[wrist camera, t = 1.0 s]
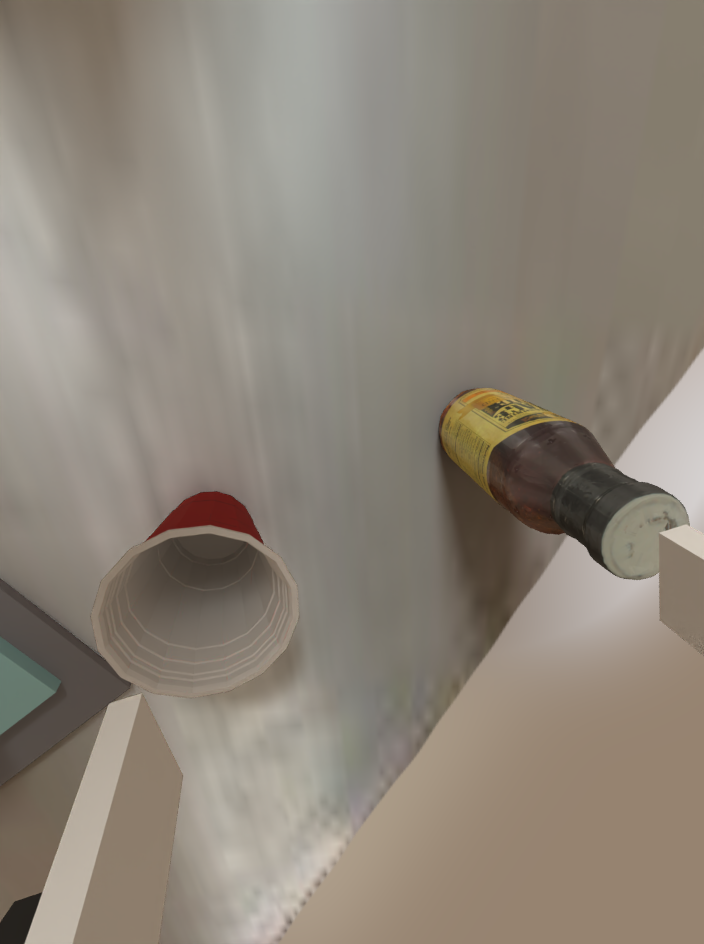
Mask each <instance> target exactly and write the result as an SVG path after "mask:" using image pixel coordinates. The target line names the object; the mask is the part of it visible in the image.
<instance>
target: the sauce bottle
mask: <svg viewBox="0 0 704 944" xmlns="http://www.w3.org/2000/svg"><path fill="white" fill-rule="evenodd" d="M439 434H440V439H441V444H442V447H443V449H444V450H445V451H446V452H447V454H448V456H449V457H450V458H451V459H452V460H453V461H454V462H455V463H456V464H457V465H458V466H459V467H460V468H461V469H462V470H463V471H465V472H466V473H467V474H468V475H469V476H470V477H471V478H472V479H473V480H474V481H475V482H476V483H477V484H478V485H479V486H480V487H481V488H483V489H484V490H485V491H486V492H487V493H488V494H489V495H490V496H491V497H492V498H493V499H494V500H495V501H496V502H497V503H498V504H499V505H501V506H502V507H503V508H505V509H506V510H508V511H510V512H511V513H512V514H513V515H514V516H515V517H516V518H517V519H518V520H520V521H521V522H522V523H524V524H525V525H527V526H528V527H530V528H533V529H535V530H538V531H540V532H543V533H547V534H558V535H559V534H562V533H566V534H567V535H569V536H571V537H573V538H575V539H577V540H578V541H579V542H580V543H581V544H583V545H584V546H585V547H586V548H587V550H588V552H589V554H590V556H591V557H592V558H593V559H594V560H595V561H596V562H597V563H599V564H600V565H601V566H602V567H604V568H605V569H606V570H608V571H609V572H611V573H612V574H614V575H615V576H618V577H620V578H624V579H633V580H641V579H646V578H649V577H652V576H654V575H656V574H657V573H659V533H660V532H663V531H666V530H670V529H673V528H676V527H679V526H682V525H686V524H687V525H688V526H690V523H689V518H688V514H687V512H686V509H685V507H684V506H683V504H682V503H681V502H680V501H679V500H678V499H677V498H675V497H674V496H673V495H671V494H669V493H668V492H666V491H664V490H663V489H661V488H659V487H657V486H655V485H652V484H649V483H645V482H638V481H636V480H635V479H632V478H630V477H628V476H626V475H624V474H623V473H622V472H621V471H619V470H618V469H616V468H615V467H614V465H613V464H612V462H611V461H610V460H609V458H608V457H607V455H606V454H605V452H604V451H603V449H602V448H601V446H600V445H599V443H598V442H597V440H596V439H595V437H594V436H593V434H592V433H591V432H590V431H589V430H588V429H586V428H585V427H583V426H582V425H580V424H577V423H575V422H573V421H571V420H569V419H566V418H564V417H561V416H559V415H556V414H554V413H552V412H550V411H548V410H546V409H543V408H541V407H538V406H536V405H534V404H532V403H529V402H526V401H524V400H521V399H519V398H517V397H514V396H512V395H509V394H507V393H505V392H502V391H500V390H496V389H491V388H476V389H471V390H467V391H463V392H461V393H460V394H459V395H457V396H456V397H455V398H454V399H453V400H452V401H451V402H450V403H449V405H448V406H447V407H446V408H445V410H444V411H443V413H442V415H441V418H440V425H439Z"/></svg>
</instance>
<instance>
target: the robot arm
mask: <svg viewBox="0 0 704 944" xmlns="http://www.w3.org/2000/svg"><path fill="white" fill-rule="evenodd" d="M659 603H660V604H659V605H660V607H659V608H660V621H661V622H662V623H664V624H665V625H666V626H667V627H669V628H670V629H671V630H672V631H673V632H675V633H676V634H677V635H678V636H680V637H681V638H682V639H683V640H684V641H686V642H687V643H688V644H690V645H691V646H692V647H693V648H694V649H696V650H697V651H698V652H699V653H700V654H702V655H703V656H704V534H703V533H701V532H699V531H698V530H696V529H694V528H692V527H690V526H688V525H687V524H686V525H682V526H679V527H676V528H673V529H670V530H666V531H663V532H660V533H659ZM182 780H183V775H182V773H181V771H180V768H179V766H178V764H177V762H176V760H175V758H174V756H173V754H172V752H171V750H170V748H169V746H168V744H167V742H166V740H165V738H164V736H163V734H162V732H161V730H160V728H159V726H158V724H157V722H156V720H155V718H154V716H153V714H152V712H151V710H150V708H149V706H148V704H147V702H146V700H145V698H144V696H143V694H142V693H141V694H137V695H134V696H131V697H128V698H124V699H121V700H118V701H115V702H112V703H109V704H108V707H107V710H106V713H105V716H104V719H103V722H102V724H101V727H100V730H99V733H98V736H97V739H96V742H95V744H94V747H93V750H92V753H91V756H90V759H89V761H88V764H87V767H86V770H85V773H84V776H83V779H82V781H81V784H80V787H79V790H78V793H77V796H76V799H75V801H74V804H73V807H72V810H71V813H70V816H69V818H68V821H67V824H66V827H65V830H64V833H63V836H62V838H61V841H60V844H59V847H58V850H57V853H56V856H55V858H54V861H53V864H52V867H51V870H50V873H49V875H48V878H47V881H46V884H45V887H44V890H43V892H42V893H39V894H36V895H33V896H30V897H27V898H24V899H21V900H18V901H15V902H14V903H13V905H12V906H11V908H10V909H9V911H8V912H7V914H6V915H5V917H4V918H3V919H2V921H1V922H0V944H159V937H160V930H161V923H162V917H163V910H164V903H165V896H166V889H167V882H168V875H169V869H170V862H171V855H172V848H173V841H174V834H175V828H176V821H177V814H178V807H179V800H180V793H181V786H182Z"/></svg>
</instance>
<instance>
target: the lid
mask: <svg viewBox="0 0 704 944" xmlns="http://www.w3.org/2000/svg"><path fill="white" fill-rule="evenodd" d="M60 683H61V680H59V679H58V678H57V677H55V676H54V675H52V674H51V673H50V672H48V671H47V670H46V669H44V668H43V667H41V666H40V665H39V664H37V663H36V662H35V661H33V660H32V659H30V658H29V657H28V656H26V655H25V654H24V653H22V652H21V651H19V650H18V649H17V648H15V647H14V646H13V645H11V644H10V643H9V642H7V641H6V640H4V639H3V638H2V637H0V735H1V734H2V733H4V732H5V731H6V730H7V729H9V728H10V727H11V726H13V725H14V724H15V723H17V722H18V721H19V720H20V719H22V718H23V717H24V716H26V715H27V714H28V713H30V712H31V711H32V710H34V709H35V708H36V707H37V706H39V705H40V704H41V703H43V702H44V701H45V700H47V699H48V698H49V697H51V696H52V695H53V694H54V693H56V691H57V689H58V687H59V685H60Z"/></svg>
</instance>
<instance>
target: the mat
mask: <svg viewBox="0 0 704 944" xmlns="http://www.w3.org/2000/svg"><path fill="white" fill-rule="evenodd" d="M0 637H2V638H3V639H4V640H6V641H7V642H9V643H10V644H11V645H13V646H14V647H15V648H17V649H18V650H19V651H21V652H22V653H24V654H25V655H26V656H28V657H29V658H30V659H32V660H33V661H35V662H36V663H37V664H39V665H40V666H41V667H43V668H44V669H46V670H47V671H48V672H50V673H51V674H52V675H54V676H55V677H57V678H58V679H59V680H61V683H60V685H59V687H58V689H57V691H56V693H54V694H53V695H52V696H51V697H49V698H48V699H47V700H45V701H44V702H43V703H41V704H40V705H39V706H37V707H36V708H35V709H34V710H32V711H31V712H30V713H28V714H27V715H26V716H24V717H23V718H22V719H20V720H19V721H18V722H17V723H15V724H14V725H13V726H11V727H10V728H9V729H7V730H6V731H5V732H4V733H2V734H1V735H0V786H1V785H3V784H4V783H5V782H7V781H8V780H9V779H10V778H12V777H13V776H14V775H16V774H17V773H18V772H20V771H21V770H22V769H24V768H25V767H26V766H28V765H29V764H30V763H32V762H33V761H34V760H36V759H37V758H38V757H40V756H41V755H42V754H43V753H45V752H46V751H47V750H49V749H50V748H51V747H53V746H54V745H55V744H57V743H58V742H59V741H61V740H62V739H63V738H65V737H66V736H67V735H69V734H70V733H71V732H73V731H74V730H75V729H76V728H78V727H79V726H80V725H82V724H83V723H84V722H86V721H87V720H88V719H90V718H91V717H92V716H94V715H95V714H96V713H98V712H99V711H100V710H102V709H103V708H104V707H106V706H107V705H108V704H109V703H111V702H112V701H113V700H115V699H116V698H117V697H119V696H120V695H121V694H123V693H124V692H125V691H127V690H128V689H129V688H130V686H131V682H129V681H127V680H125V679H123V678H121V677H120V676H119V675H118V674H117V673H116V671H115V670H114V669H113V668H112V667H111V666H110V664H109V663H108V662H107V661H106V660H104V659H103V658H102V657H100V656H99V655H98V654H97V653H95V652H94V651H93V650H91V649H90V648H89V647H88V646H86V645H85V644H84V643H82V642H81V641H80V640H79V639H77V638H76V637H75V636H73V635H72V634H71V633H70V632H68V631H67V630H66V629H64V628H63V627H62V626H61V625H59V624H58V623H57V622H55V621H54V620H53V619H52V618H50V617H49V616H48V615H46V614H45V613H44V612H43V611H41V610H40V609H39V608H37V607H36V606H35V605H34V604H32V603H31V602H30V601H28V600H27V599H26V598H25V597H23V596H22V595H21V594H19V593H18V592H17V591H16V590H14V589H13V588H12V587H10V586H9V585H8V584H7V583H5V582H4V581H3V580H1V579H0Z"/></svg>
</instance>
